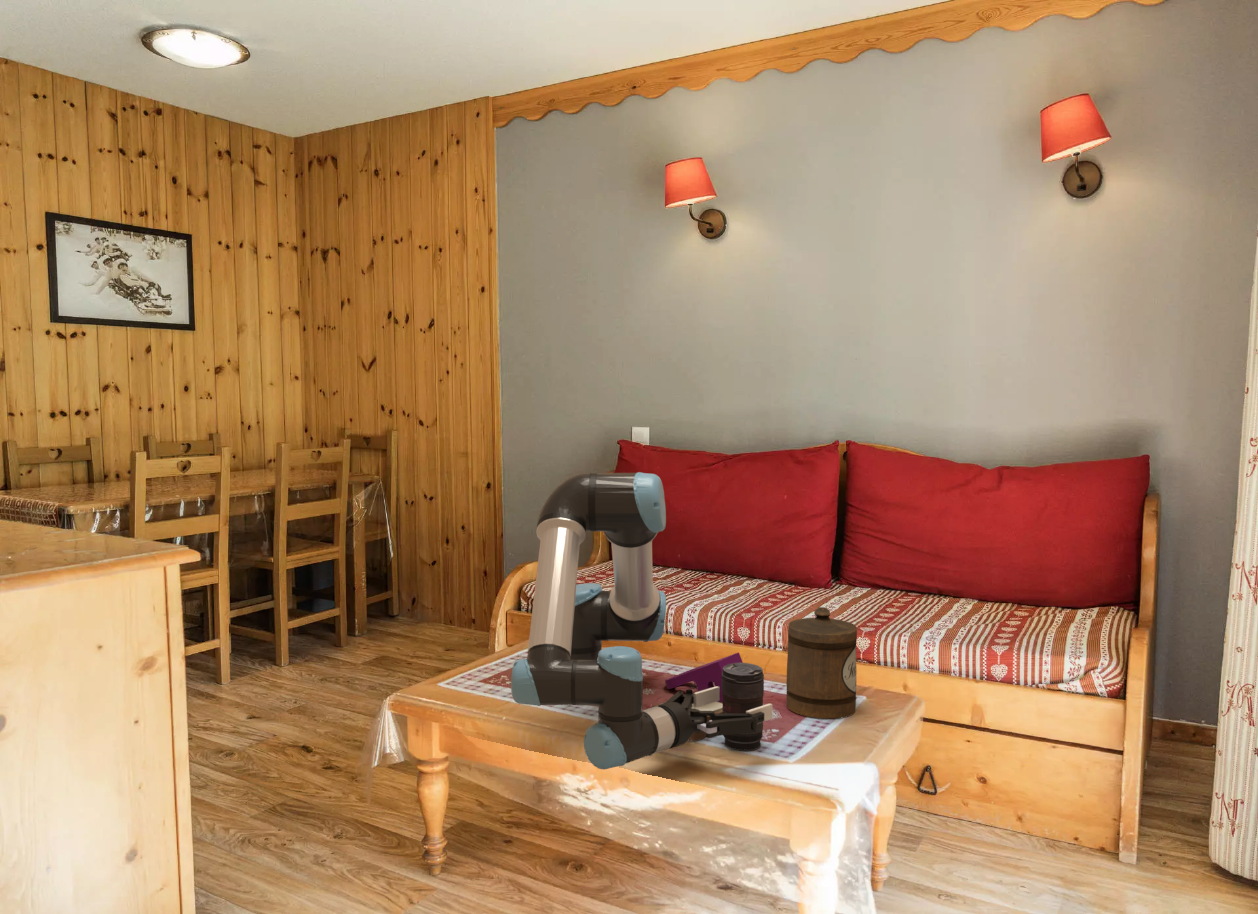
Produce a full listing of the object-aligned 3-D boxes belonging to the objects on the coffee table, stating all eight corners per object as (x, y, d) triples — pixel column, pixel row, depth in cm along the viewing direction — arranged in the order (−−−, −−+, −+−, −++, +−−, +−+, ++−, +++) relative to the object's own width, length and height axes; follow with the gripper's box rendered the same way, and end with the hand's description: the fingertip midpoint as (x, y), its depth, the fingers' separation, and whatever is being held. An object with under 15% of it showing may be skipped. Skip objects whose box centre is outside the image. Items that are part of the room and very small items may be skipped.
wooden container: (865, 718, 184) (866, 615, 183) (795, 720, 183) (796, 616, 182) (844, 696, 199) (845, 599, 198) (779, 697, 198) (780, 600, 197)
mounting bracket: (670, 719, 201) (732, 698, 191) (657, 683, 203) (717, 661, 193) (692, 707, 209) (753, 687, 199) (679, 673, 211) (738, 652, 201)
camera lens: (714, 747, 169) (714, 670, 168) (732, 734, 175) (732, 660, 175) (753, 755, 164) (753, 676, 164) (770, 741, 171) (770, 666, 170)
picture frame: (652, 725, 180) (652, 704, 180) (693, 712, 188) (693, 691, 188) (693, 741, 171) (693, 719, 171) (735, 727, 179) (735, 705, 179)
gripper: (617, 729, 165) (698, 704, 179) (713, 770, 146) (794, 739, 160) (617, 689, 165) (698, 668, 179) (713, 725, 146) (795, 698, 160)
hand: (743, 701), depth 169 cm, fingers open, 13 cm apart
